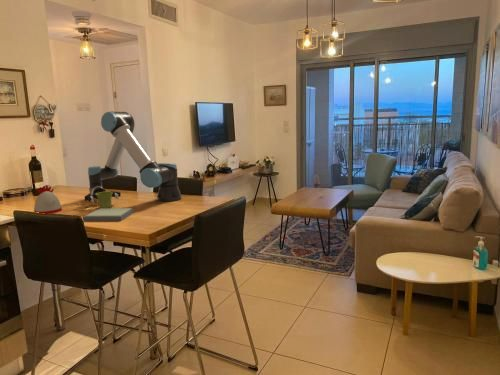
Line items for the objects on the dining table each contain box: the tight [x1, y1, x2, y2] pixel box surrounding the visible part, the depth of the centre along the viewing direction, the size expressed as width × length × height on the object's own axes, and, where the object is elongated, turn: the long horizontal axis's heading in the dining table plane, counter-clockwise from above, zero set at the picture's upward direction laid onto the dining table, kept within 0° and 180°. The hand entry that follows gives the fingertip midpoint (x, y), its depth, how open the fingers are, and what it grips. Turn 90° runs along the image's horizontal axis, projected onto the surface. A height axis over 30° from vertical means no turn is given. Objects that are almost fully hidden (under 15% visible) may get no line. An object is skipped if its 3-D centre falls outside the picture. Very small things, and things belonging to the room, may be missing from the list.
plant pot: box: [96, 191, 114, 209], centre depth 217 cm, size 9×9×9 cm
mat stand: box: [82, 207, 135, 222], centre depth 196 cm, size 20×18×3 cm
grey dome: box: [33, 185, 63, 214], centre depth 210 cm, size 14×14×15 cm
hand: (105, 198), depth 214 cm, fingers open, 13 cm apart
